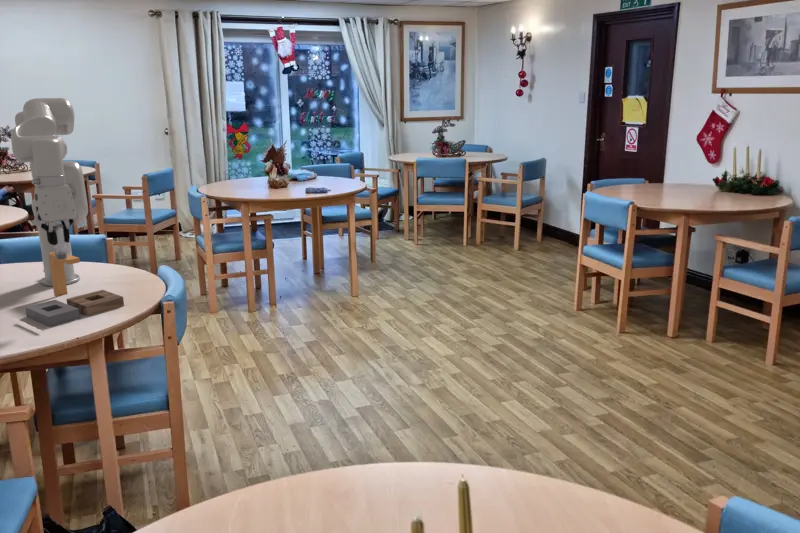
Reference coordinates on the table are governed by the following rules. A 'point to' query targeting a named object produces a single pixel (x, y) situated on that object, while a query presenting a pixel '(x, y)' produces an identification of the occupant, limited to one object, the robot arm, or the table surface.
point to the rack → (52, 313)
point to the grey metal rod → (60, 242)
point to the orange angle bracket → (60, 272)
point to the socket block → (96, 302)
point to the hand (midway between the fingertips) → (59, 242)
